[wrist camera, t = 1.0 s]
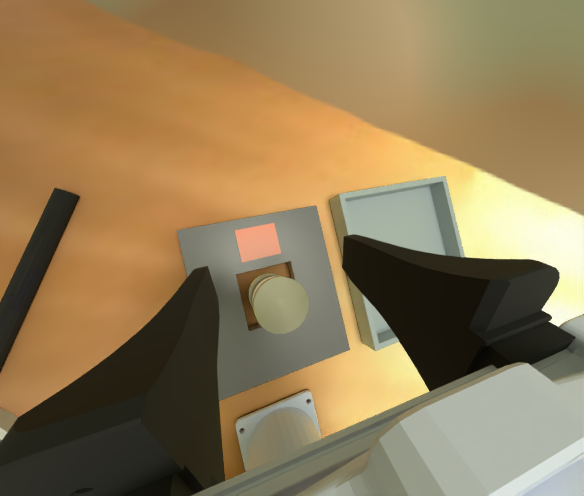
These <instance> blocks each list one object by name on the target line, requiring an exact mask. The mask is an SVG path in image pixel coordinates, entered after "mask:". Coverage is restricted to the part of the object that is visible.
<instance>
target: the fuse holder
mask: <svg viewBox="0 0 584 496" xmlns="http://www.w3.org/2000/svg"><path fill="white" fill-rule="evenodd" d="M177 233H178V238H179V242H180V247H181V251H182V255H183V260H184V264H185V269H186V273H187V277H188V276H189V275H190V274H191V272H192V271H193V270H194V269H196V268H200V267H205V266H208V268H209V271H210V274H211V278H212V281H213V284H214V287H215V290H216V293H217V296H218V301H219V314H220V321H219V339H218V357H217V375H218V395H219V401H220V400H223V399H225V398H228V397H230V396H233V395H236V394H238V393H241V392H243V391H246V390H248V389H251V388H253V387H256V386H258V385H261V384H264V383H266V382H269V381H271V380H274V379H276V378H279V377H281V376H284V375H287V374H289V373H292V372H294V371H297V370H299V369H302V368H304V367H307V366H310V365H312V364H315V363H317V362H320V361H322V360H325V359H327V358H330V357H332V356H335V355H338V354H340V353H343V352H345V351H348V350H350V348H349V344H348V339H347V335H346V331H345V326H344V322H343V318H342V314H341V309H340V305H339V301H338V296H337V292H336V288H335V284H334V279H333V275H332V271H331V266H330V262H329V258H328V254H327V249H326V245H325V241H324V236H323V232H322V228H321V224H320V219H319V215H318V211H317V206H311V207H305V208H299V209H294V210H288V211H283V212H277V213H272V214H266V215H260V216H255V217H249V218H244V219H238V220H233V221H227V222H221V223H216V224H210V225H205V226H199V227H193V228H188V229H182V230H177ZM285 262H288V267H289V271H290V275H291V279H293V280H295V281H297V282H298V283H300V284H301V285H302V287H303V288H304V289H305V291H306V293H307V296H308V301H309V307H308V312H307V315H306V318H305V319H304V321H303V322H302V324H301V325H300V326H299V327H298V328H296V329H295V330H293V331H291V332H289V333H286V334H274V333H271V332H269V331H267V330H265V329H264V328H263V327H262V326H261V325H260V324H256V325H253V326H250V327H248V325H247V320H246V316H245V312H244V307H243V303H242V298H241V294H240V290H239V285H238V281H237V277H236V274H240V273H244V272H248V271H253V270H257V269H261V268H265V267H269V266H273V265H277V264H281V263H285Z"/></svg>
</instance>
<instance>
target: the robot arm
mask: <svg viewBox="0 0 584 496" xmlns="http://www.w3.org/2000/svg"><path fill="white" fill-rule="evenodd" d="M342 268H343V269H344V271H345V272H346V274H347V276H348V277H349V279H350V280H351V281H352V283H353V284H354V285H355V286H356V287H357V288H358V290H359V291H360V292H361V293H362V294H363V295H364V296H365V297H366V299H367V300H368V301H369V302H370V303H371V304H372V305H373V306H374V307H375V309H376V310H377V311H378V312H379V313H380V315H381V316H382V317H383V319H384V320H385V321H386V323H387V324H388V326H389V327H390V328H391V330H392V331H393V333H394V334H395V336H396V337H397V339H398V340H399V342H400V343H401V345H402V346H403V348H404V349H405V351H406V352H407V354H408V356H409V357H410V359H411V360H412V362H413V364H414V365H415V367H416V368H417V370H418V372H419V374H420V375H421V377H422V379H423V381H424V382H425V384H426V386H427V388H428V389H429V391H430V392H428V393H425V394H423V395H421V396H419V397H416V398H414V399H412V400H409V401H407V402H405V403H403V404H400V405H398V406H396V407H393V408H391V409H389V410H386V411H384V412H382V413H380V414H377V415H375V416H373V417H370V418H368V419H366V420H364V421H361V422H359V423H357V424H354V425H352V426H350V427H347V428H345V429H343V430H341V431H338V432H336V433H334V434H331V435H329V436H327V437H324V438H322V436H321V432H320V428H319V423H318V419H317V415H316V410H315V406H314V402H313V398H312V394H311V392H310V391H309V390H305V391H302V392H300V393H298V394H295V395H293V396H291V397H288V398H286V399H284V400H281V401H279V402H276V403H274V404H272V405H269V406H267V407H265V408H262V409H260V410H258V411H255V412H253V413H250V414H248V415H246V416H243V417H241V418H239V419H238V420H237V421H236V432H237V436H238V440H239V445H240V449H241V454H242V458H243V462H244V467H245V471H246V472H244V473H242V474H240V475H237V476H235V477H233V478H230V479H228V480H226V481H225V474H224V462H223V451H222V439H221V425H220V411H219V395H218V375H217V357H218V339H219V321H220V314H219V301H218V296H217V293H216V290H215V287H214V284H213V281H212V278H211V274H210V271H209V268H208V266H205V267H200V268H196V269H194V270H193V271H192V272H191V274H190V275H189V276H188V278H187V279H186V280H185V282H184V283H183V284H182V285H181V287H180V288H179V289H178V291H177V292H176V293H175V294H174V295H173V297H172V298H171V299H170V300H169V301H168V302H167V303H166V305H165V306H164V307H163V308H162V309H161V310H160V311H159V312H158V313H157V314H156V315H155V316H154V317H153V318H152V319H151V320H150V321H149V322H148V323H147V324H146V325H145V326H144V327H143V328H142V329H141V330H140V331H139V332H138V333H136V334H135V335H134V336H133V337H132V338H130V339H129V340H128V341H127V342H126V343H124V344H123V345H122V346H121V347H120V348H118V349H117V350H116V351H115V352H114V353H112V354H111V355H110V356H108V357H107V358H106V359H104V360H103V361H102V362H100V363H99V364H98V365H96V366H95V367H94V368H92V369H91V370H90V371H88V372H87V373H85V374H84V375H83V376H81V377H80V378H78V379H77V380H75V381H74V382H72V383H71V384H70V385H68V386H67V387H65V388H64V389H62V390H60V391H59V392H57V393H56V394H54V395H53V396H51V397H50V398H48V399H47V400H45V401H43V402H42V403H40V404H39V405H37V406H36V407H34V408H33V409H31V410H30V411H28V412H26V413H25V414H23V415H22V416H20V417H18V418H17V420H16V421H15V422H14V424H13V425H12V427H11V428H10V429H9V431H8V432H7V434H6V435H5V437H4V438H3V439H2V441H1V442H0V496H584V462H583V461H584V314H582V315H580V316H578V317H575V318H573V319H571V320H568V321H566V322H564V323H563V324H561V325H560V326H559V327H557V326H556V325H554V324H552V323H550V322H548V321H550V320H551V319H552V317H551V315H549V314H547V313H546V312H544V311H542V310H541V309H542V308H543V306H544V305H545V303H546V302H547V300H548V299H549V297H550V296H551V294H552V293H553V291H554V289H555V288H556V286H557V284H558V281H559V272H558V270H557V269H556V268H555V267H552V266H550V265H547V264H545V263H542V262H539V261H535V260H530V259H480V258H466V257H456V256H447V255H440V254H433V253H428V252H422V251H417V250H412V249H408V248H404V247H400V246H396V245H393V244H389V243H386V242H382V241H379V240H375V239H372V238H368V237H365V236H361V235H356V234H352V235H348V236H344V240H343V263H342ZM307 399H310V400H309V401H308V402H306V401H307ZM241 428H244V430H242V431H241V430H240V429H241Z"/></svg>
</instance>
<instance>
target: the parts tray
mask: <svg viewBox="0 0 584 496" xmlns="http://www.w3.org/2000/svg"><path fill="white" fill-rule="evenodd" d="M329 203H330V207H331V211H332V216H333V220H334V224H335V228H336V233H337V237H338V241H339V245H340V250H341V254H342V258H343V240H344V236H348V235H352V234H356V235H361V236H365V237H368V238H372V239H375V240H379V241H382V242H386V243H389V244H393V245H396V246H400V247H404V248H408V249H412V250H417V251H422V252H428V253H433V254H440V255H447V256H456V257H465V256H464V251H463V247H462V243H461V239H460V235H459V230H458V226H457V222H456V218H455V214H454V210H453V205H452V201H451V197H450V193H449V189H448V184H447V180H446V176H442V177H436V178H430V179H424V180H418V181H413V182H407V183H401V184H395V185H389V186H383V187H377V188H371V189H365V190H359V191H353V192H347V193H341V194H338V195H336V196H335V197H333V198H332V199H330V200H329ZM346 275H347V274H346ZM347 280H348V284H349V288H350V293H351V297H352V301H353V305H354V310H355V314H356V318H357V322H358V327H359V331H360V335H361V340H362V343H363V344H365V345H367V346H368V347H370V348H371V349H373V350H375V351H377V350H380V349H382V348H385V347H387V346H389V345H392V344H394V343H397V342H399V340H398V339H397V337H396V336H395V334H394V333H393V331H392V330H391V328H390V327H389V326H388V324H387V323H386V321H385V320H384V319H383V317H382V316H381V315H380V313H379V312H378V311H377V310H376V309H375V307H374V306H373V305H372V304H371V303H370V302H369V301H368V300H367V299H366V297H365V296H364V295H363V294H362V293H361V292H360V291H359V290H358V288H357V287H356V286H355V285H354V284H353V283H352V281H351V280H350V279H349V277H348V276H347Z"/></svg>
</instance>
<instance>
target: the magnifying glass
mask: <svg viewBox="0 0 584 496" xmlns="http://www.w3.org/2000/svg"><path fill="white" fill-rule="evenodd" d="M79 197H80V196H78V195H75V194H72V193H70V192H67V191H64V190H61V189H57V188H54V190H53V193H52V195H51V197H50V199H49V201H48V203H47V205H46V207H45V209H44V211H43V214H42V216H41V218H40V220H39V222H38V224H37V226H36V228H35V230H34V233H33V235H32V237H31V239H30V241H29V243H28V245H27V247H26V249H25V251H24V254H23V256H22V258H21V260H20V262H19V264H18V266H17V268H16V270H15V272H14V275H13V277H12V279H11V281H10V283H9V285H8V287H7V289H6V291H5V294H4V296H3V298H2V300H1V302H0V370H1V368H2V366H3V364H4V361H5V359H6V357H7V355H8V353H9V350H10V348H11V346H12V344H13V342H14V339H15V337H16V335H17V333H18V331H19V328H20V326H21V324H22V322H23V320H24V317H25V315H26V313H27V311H28V309H29V306H30V304H31V302H32V300H33V298H34V295H35V293H36V291H37V289H38V287H39V284H40V282H41V280H42V278H43V276H44V273H45V271H46V269H47V267H48V265H49V262H50V260H51V258H52V256H53V254H54V251H55V249H56V247H57V245H58V243H59V240H60V238H61V236H62V234H63V232H64V229H65V227H66V225H67V223H68V221H69V219H70V216H71V214H72V212H73V210H74V208H75V205H76V203H77V201H78V199H79ZM17 418H18V417H17V416H16V415H14V414H13V413H11V412H8V411H6V410H4V409H1V408H0V442H1V441H2V439H3V438H4V437H5V435H6V434H7V432H8V431H9V429H10V428H11V427H12V425H13V424H14V422H15V421H16V420H17Z"/></svg>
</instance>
